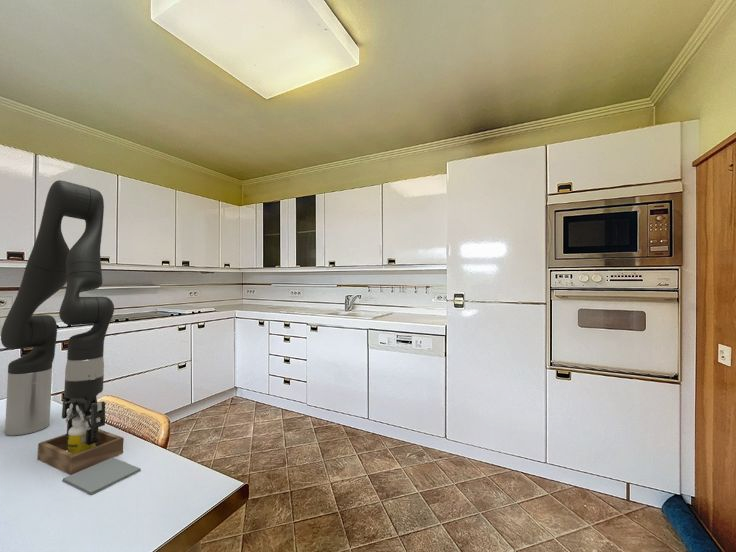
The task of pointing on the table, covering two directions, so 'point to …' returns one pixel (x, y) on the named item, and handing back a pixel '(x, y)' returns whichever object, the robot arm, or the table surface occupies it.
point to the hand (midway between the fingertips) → (82, 439)
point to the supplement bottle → (78, 437)
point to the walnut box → (69, 463)
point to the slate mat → (101, 475)
